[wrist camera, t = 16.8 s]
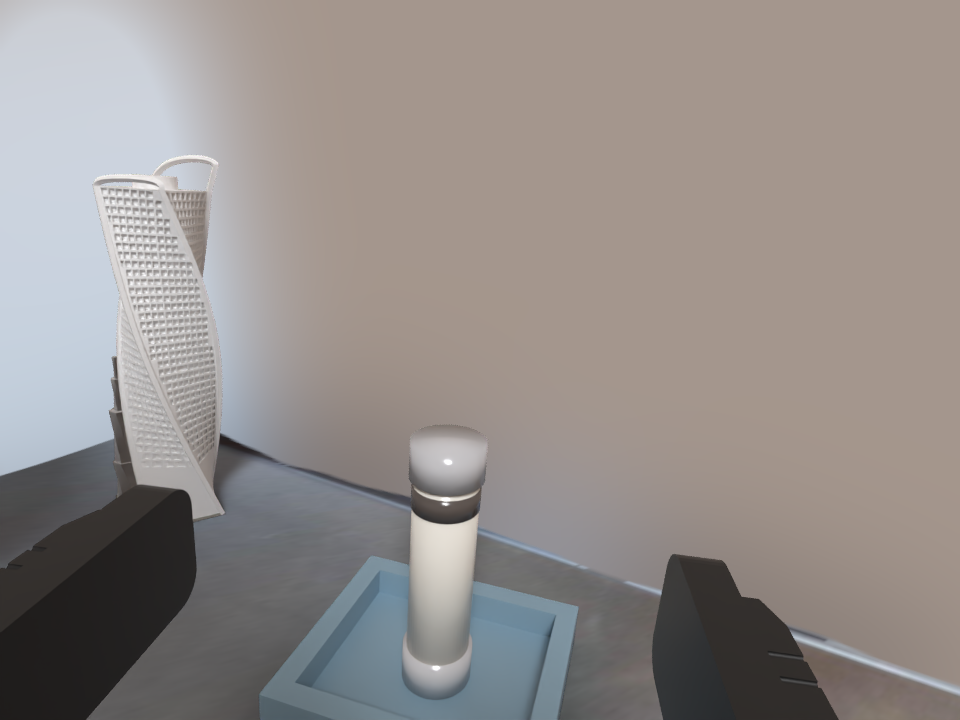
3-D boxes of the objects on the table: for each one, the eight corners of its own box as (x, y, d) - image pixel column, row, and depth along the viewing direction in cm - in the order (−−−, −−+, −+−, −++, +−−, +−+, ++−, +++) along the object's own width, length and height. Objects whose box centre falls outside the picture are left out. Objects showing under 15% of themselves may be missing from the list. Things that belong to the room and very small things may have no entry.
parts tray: (260, 734, 29) (258, 694, 28) (370, 586, 40) (371, 555, 39) (537, 832, 25) (543, 789, 25) (574, 640, 36) (578, 606, 36)
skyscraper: (223, 477, 54) (203, 156, 46) (247, 519, 47) (229, 156, 40) (116, 500, 49) (74, 146, 41) (127, 549, 43) (80, 143, 35)
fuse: (390, 687, 31) (397, 448, 27) (417, 638, 35) (427, 420, 31) (457, 708, 30) (475, 463, 26) (478, 655, 34) (496, 432, 30)
